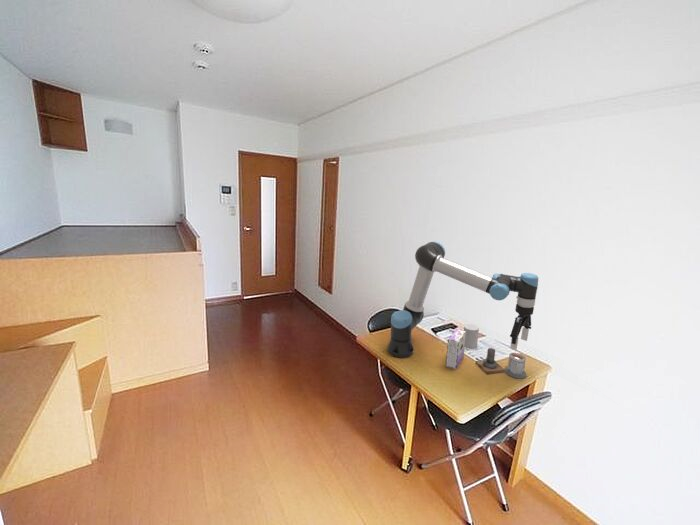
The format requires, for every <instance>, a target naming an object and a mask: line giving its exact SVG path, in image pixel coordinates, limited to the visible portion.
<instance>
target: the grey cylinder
mask: <svg viewBox="0 0 700 525" xmlns="http://www.w3.org/2000/svg"><path fill="white" fill-rule="evenodd" d="M526 359H527V358H526V356H525V355H523V354H521V353H519V352H511V353H509V355H508V362H507V366H508V369H507V370H508V371H509V373H511V374H513V375H519V376H521V375H522V374H523V373H524V371H525V366H526V361H527V360H526Z"/></svg>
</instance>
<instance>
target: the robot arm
mask: <svg viewBox="0 0 700 525" xmlns="http://www.w3.org/2000/svg"><path fill="white" fill-rule="evenodd" d="M445 256H446V250H445V247H444V245H442V244H441V243H440V242H437V241H430V242H427V243H426V244H424V245H421V246H419V247H418V248H417V249H416V252H415V255H414V258H415V261H416V263H417V265H418V266H419V267H418V270H417V273H416V276H415V279H414V283H413V285H412V289H411V292H410V295H409V298H408V300H407V301H405V302H404V306H403V310H402V309H401V310H397V311H396V310H395V311H394V312H393V313H392V314H391V317H390V318H391V319H390V339H389V342H388V345H387V353H388V352H389V353H390V354H391V355H390V354H389V353H388V354H389V355H390V356H392V355H393V356H392V357H394V356H395V357H394V358H398V357H400V358H399V359H407V358H411V357H412V356H413V355H414V352H415V348H414V345H413V341H412V330H414V329H415V328H416V326H417V325H419V324H421V322H422V321H423V318H424V316H425V315H424V314H425V313H424V312H425V307H424V303H425V299H426V298H427V297H426V296H427V294H428V291H429V288H430V285H431V282H432V280H433V276H434V273H436V272H437V273H439V274H442V275H444V276H446V277H449V278H451V279H454V280H456V281H458V282H460V283H463V284H465V285H468V286H470V287H473V288H474V289H477V290H480V291H482V292H484V293H486V294H489V296H490V297H491V298H492V299H493V300H495V301H503V300H505V299H506V298H508V296H509V295H510V293H511V292H513V293H517V296H516V303H515V312H516V313H517V314H518V315H517V316H516V317H515V318H514V319H515V320H514V323H513V327H512V330H511V332H510V335H509V337H510V338H511V341H510V347H509V348H510V350H514V351H517V350H518V349H517V348H518V343H519V335H520V333H521V337H520V340H523V341H525V342H527V341H528V336H529V331H530V330H532V316H533V314H534V310H535V309H534V307H535V305H536V297H537V292H538V288H539V287H538V286H539V276H538V275H536V274H534V273H530V272H522V273H521V274H520V276H515V275H508V274H503V273H493V275H492V276H490V275H486V274H485V273H482V272H479V271H477V270H474V269H472V268H469V267H467V266H464V265H462V264H459V263H457V262H454V261H452V260H449V259H447V258H445Z"/></svg>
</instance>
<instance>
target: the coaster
mask: <svg viewBox="0 0 700 525" xmlns="http://www.w3.org/2000/svg"><path fill="white" fill-rule="evenodd" d="M504 369H505V370H504V373H505V374H506V375H507V376H509V377H510V378H513V379H515V380H516V379H517V380H523V379H526V378H527V377H528V376H527V372H526V370H524V373H523V374H522V375H521V376H519V375H513V374H511V373H509V371H508V370H507V369H508V365H507V366H505V367H504Z"/></svg>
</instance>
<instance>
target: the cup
mask: <svg viewBox="0 0 700 525" xmlns="http://www.w3.org/2000/svg"><path fill="white" fill-rule="evenodd" d="M463 326H464V327H463V331H466V336H465V347H464V348H465V349H469V350H470V349H473V350H474V349H477V347H478V339H479V331H480V327H479V326H478V325H477V324H473V323H466V324H464V325H463Z"/></svg>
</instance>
